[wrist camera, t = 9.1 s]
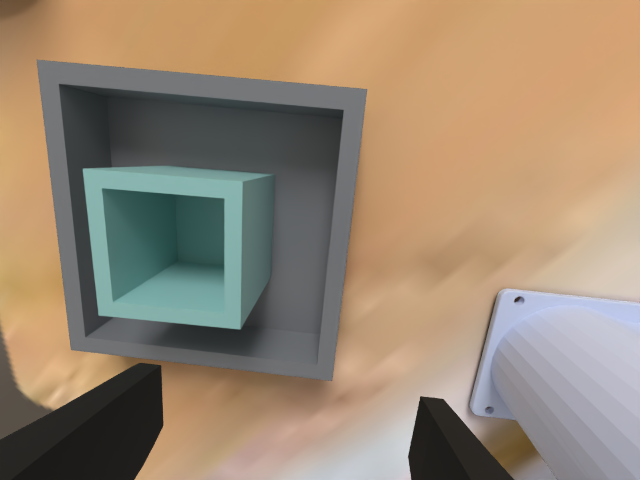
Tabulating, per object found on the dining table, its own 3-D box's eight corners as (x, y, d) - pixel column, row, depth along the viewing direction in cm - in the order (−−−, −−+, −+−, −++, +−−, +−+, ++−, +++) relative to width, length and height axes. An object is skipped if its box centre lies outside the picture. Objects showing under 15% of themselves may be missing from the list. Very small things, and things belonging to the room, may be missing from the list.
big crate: (360, 104, 15) (367, 89, 12) (333, 340, 19) (332, 380, 15) (101, 81, 16) (36, 59, 12) (118, 316, 19) (71, 349, 16)
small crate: (275, 174, 16) (242, 181, 10) (271, 276, 17) (240, 329, 12) (168, 165, 16) (82, 168, 11) (172, 267, 17) (98, 315, 12)
